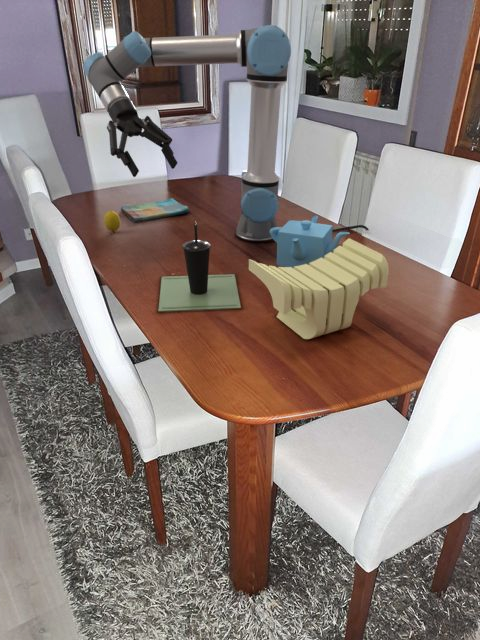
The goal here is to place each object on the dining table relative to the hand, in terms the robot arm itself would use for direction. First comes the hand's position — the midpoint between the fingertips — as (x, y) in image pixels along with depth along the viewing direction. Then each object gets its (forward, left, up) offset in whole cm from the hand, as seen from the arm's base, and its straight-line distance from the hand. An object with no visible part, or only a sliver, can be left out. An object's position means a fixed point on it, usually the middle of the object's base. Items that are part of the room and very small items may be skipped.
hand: (156, 169), depth 149 cm
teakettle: (-45, +4, -30) cm, 54 cm away
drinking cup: (-10, +19, -29) cm, 37 cm away
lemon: (+19, -34, -30) cm, 49 cm away
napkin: (-11, +19, -30) cm, 37 cm away
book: (+5, -56, -30) cm, 64 cm away
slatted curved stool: (-40, +40, -30) cm, 64 cm away
